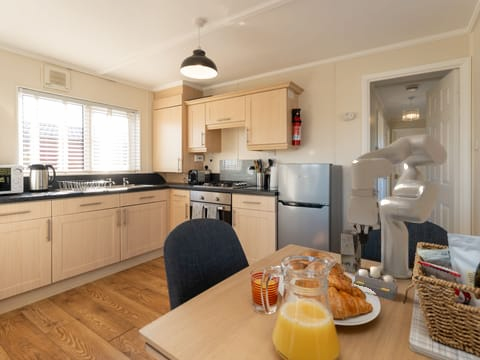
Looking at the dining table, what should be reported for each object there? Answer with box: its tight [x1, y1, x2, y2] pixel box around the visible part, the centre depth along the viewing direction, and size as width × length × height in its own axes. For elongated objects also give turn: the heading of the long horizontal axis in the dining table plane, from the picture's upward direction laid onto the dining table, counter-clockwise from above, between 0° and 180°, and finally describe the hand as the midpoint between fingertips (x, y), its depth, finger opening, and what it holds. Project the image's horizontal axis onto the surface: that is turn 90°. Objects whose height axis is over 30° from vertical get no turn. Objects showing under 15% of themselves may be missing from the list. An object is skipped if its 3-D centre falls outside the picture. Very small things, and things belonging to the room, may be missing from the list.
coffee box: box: [340, 229, 362, 274], centre depth 112 cm, size 9×6×16 cm
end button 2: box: [358, 268, 369, 277], centre depth 94 cm, size 3×3×4 cm
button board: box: [353, 270, 399, 301], centre depth 91 cm, size 7×12×5 cm, turn 46°
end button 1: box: [382, 274, 394, 283], centre depth 89 cm, size 3×3×4 cm
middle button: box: [369, 266, 381, 280], centre depth 91 cm, size 3×3×4 cm
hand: (363, 243), depth 94 cm, fingers closed
